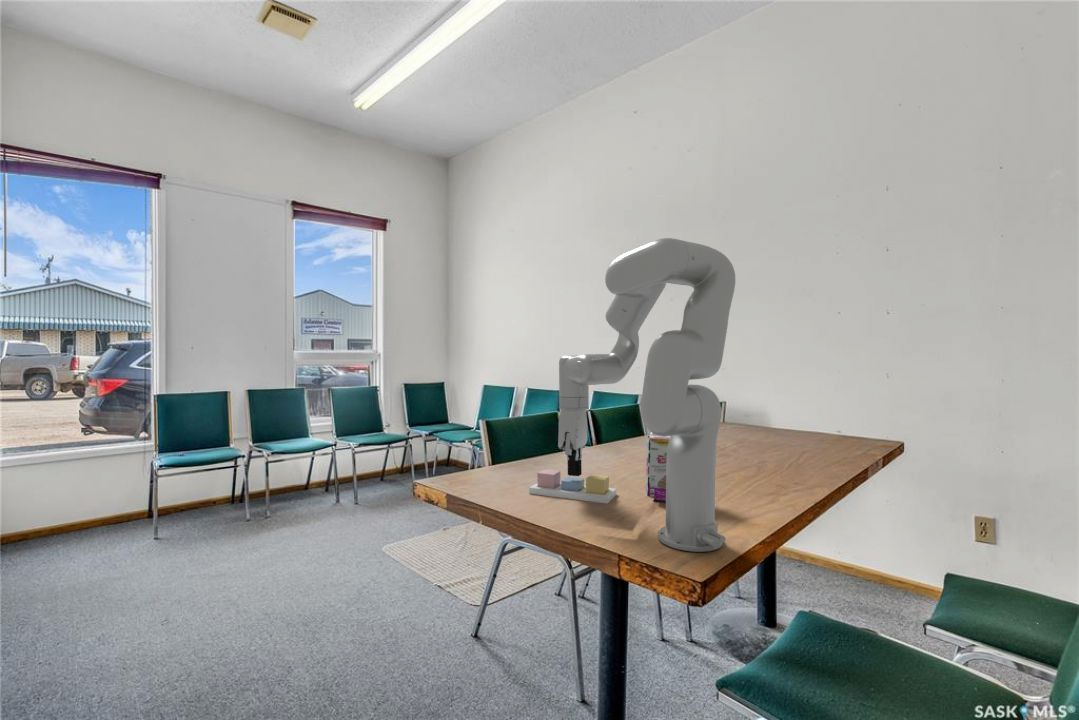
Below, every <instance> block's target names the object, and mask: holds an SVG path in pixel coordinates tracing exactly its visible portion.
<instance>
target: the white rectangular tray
mask: <svg viewBox="0 0 1079 720" xmlns="http://www.w3.org/2000/svg"><path fill="white" fill-rule="evenodd" d="M528 490H529V491H528V493H529V494H530V495H538V496H539V495H540V496H545V497H554V498H560V499H567V500H577V501H585V502H592V503H599V504H609V503H610V501H612V500H613V499H614V498H615V497H616V496H617V488H614V487H609V491H608V492H607V493H606V494H605V495H601V494H593V493H586V484H584V488H583V489H582V490H581V491H580V492H576V491H568V490H561V481H560V486H558V487H557V488H555V489H552V488H544V487H537V482H536V483H535V484H533V485H531V486H529V487H528Z"/></svg>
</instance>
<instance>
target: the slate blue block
mask: <svg viewBox="0 0 1079 720" xmlns="http://www.w3.org/2000/svg"><path fill="white" fill-rule="evenodd" d="M560 482H561V490H568V491H576V492H580V491H581V490H582V489H583V488H584V485H585V478H581V477H580V478H579V477H574V476H571V477H570V476H567V477H565V478H563V479H561V480H560Z"/></svg>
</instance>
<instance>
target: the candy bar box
mask: <svg viewBox="0 0 1079 720" xmlns="http://www.w3.org/2000/svg"><path fill="white" fill-rule="evenodd" d="M669 440H670V436H659V435H655V434H653V435H652V434H651V435H650V434H649V435H646V459H645V460H646V463H645V465H646V470H645V493H646V496H647V497H651V498H652V497H654V499H653V500H652V502H655V503H656V502H658V503H666V462H667V448H668V443H669Z"/></svg>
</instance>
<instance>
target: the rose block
mask: <svg viewBox="0 0 1079 720" xmlns="http://www.w3.org/2000/svg"><path fill="white" fill-rule="evenodd" d="M560 482H561V470H555V469H543V470H541V471H538V472H537V482H536V483H537V487H544V488H552V489H555V488H557V487H558V486H560Z"/></svg>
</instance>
